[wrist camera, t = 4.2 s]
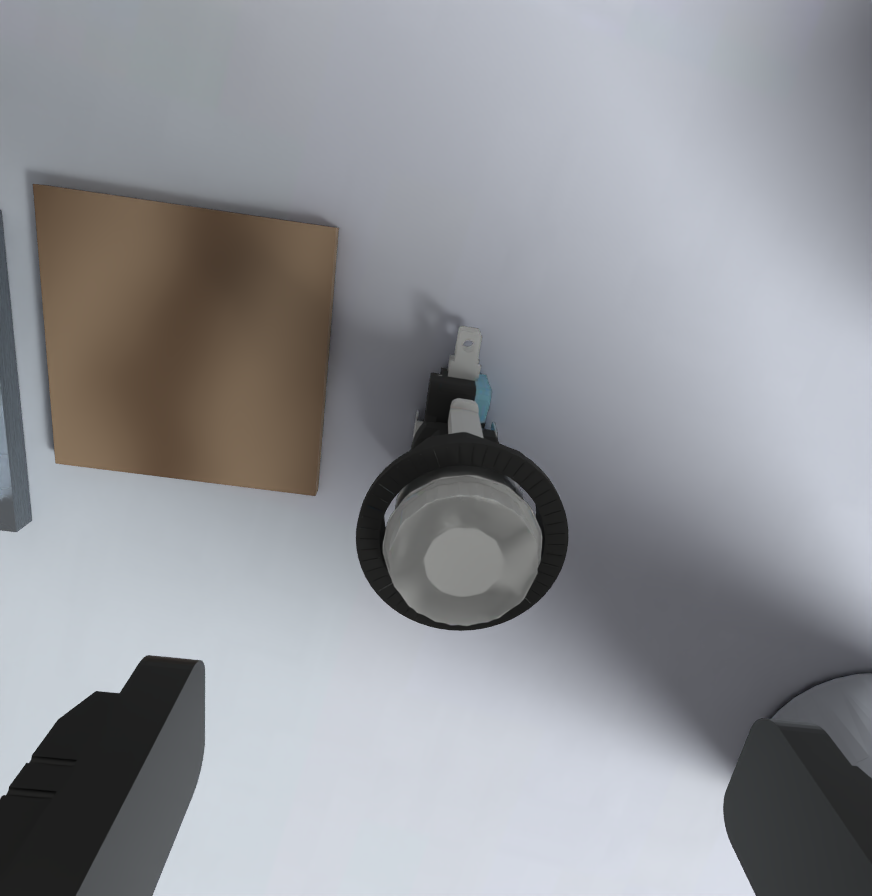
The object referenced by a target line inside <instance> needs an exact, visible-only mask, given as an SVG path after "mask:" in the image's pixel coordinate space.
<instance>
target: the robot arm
mask: <svg viewBox="0 0 872 896" xmlns="http://www.w3.org/2000/svg"><path fill="white" fill-rule="evenodd" d="M204 746H205V666H204V663H203V661H201V660H191V659H181V658H171V657H161V656H151V655H148V656H146V657H144V658H143V659H142V660H141V661H140V663H139V664H138V666H137V667H136V669H135V670H134V672H133V673H132V675H131V677H130V678H129V680H128V681H127V683H126V684H125V686H124V687H123V689H122V691H121V692H120V693H109V692H99V691H96V692H94V693H93V694H92V695H90V696H89V697H88V698H86V699H85V700H84V701H82V702H81V703H80V704H78V705H77V706H76V707H74V708H73V709H72V710H70V711H69V712H68V713H66V714H65V715H64V716H62V717H61V718H60V719H58V720H57V722H56V723H55V725H54V726H53V727H52V729H51V730H50V731H49V733H48V734H47V736H46V737H45V738H44V740H43V741H42V742H41V744H40V745H39V747H38V748H37V749H36V751H35V752H34V753H33V755H32V759H31V761H30V763H26V764H25V766H24V767H23V768H22V770H21V771H20V773H19V774H18V775H17V777H16V778H15V779H14V781H13V782H12V784H11V785H10V786H9V791H8V793H7V795H6V796H5V795H3V796H2V797H1V799H0V896H152V895H153V893H154V890H155V888H156V885H157V883H158V880H159V878H160V875H161V873H162V870H163V868H164V865H165V863H166V860H167V858H168V856H169V853H170V851H171V848H172V846H173V843H174V841H175V838H176V836H177V833H178V831H179V828H180V826H181V823H182V821H183V818H184V816H185V813H186V811H187V808H188V806H189V803H190V801H191V798H192V796H193V793H194V791H195V788H196V785H197V782H198V778H199V774H200V770H201V766H202V761H203V755H204ZM723 813H724V821H725V827H726V831H727V834H728V837H729V840H730V842H731V845H732V847H733V849H734V851H735V853H736V855H737V857H738V859H739V861H740V863H741V865H742V867H743V870H744V872H745V874H746V876H747V878H748V880H749V882H750V884H751V886H752V888H753V890H754V892H755V895H756V896H872V673H867V674H855V675H850V676H845V677H840V678H836V679H833V680H830V681H827V682H825V683H822V684H819V685H817V686H814V687H812V688H811V689H809V690H807V691H805V692H803V693H802V694H800V695H798V696H796V697H795V698H793V699H792V700H791V701H790V702H788V703H787V704H786V705H785V706H783V707H782V708H781V709H780V710H778V712H777V713H776V714H775V715H774V716H773V717H772V718H771V719H767V718H761V719H759V720H757V721H756V722H755V723H754V724H753V726H752V728H751V730H750V732H749V735H748V737H747V740H746V742H745V745H744V747H743V750H742V752H741V755H740V757H739V760H738V762H737V765H736V767H735V770H734V772H733V775H732V777H731V780H730V782H729V784H728V787H727V789H726V792H725V796H724V804H723Z"/></svg>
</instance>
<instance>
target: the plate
mask: <svg viewBox="0 0 872 896" xmlns="http://www.w3.org/2000/svg"><path fill="white" fill-rule="evenodd" d="M33 193H34V205H35V217H36V230H37V242H38V254H39V267H40V279H41V291H42V303H43V316H44V328H45V340H46V353H47V365H48V377H49V389H50V402H51V414H52V426H53V439H54V451H55V463H57V464H64V465H72V466H80V467H88V468H96V469H104V470H112V471H120V472H128V473H136V474H144V475H152V476H160V477H168V478H176V479H184V480H192V481H200V482H208V483H216V484H224V485H232V486H240V487H248V488H256V489H264V490H272V491H280V492H287V493H295V494H303V495H311V496H316V493H317V491H318V484H319V471H320V459H321V446H322V433H323V421H324V408H325V395H326V383H327V370H328V358H329V345H330V332H331V320H332V307H333V294H334V282H335V269H336V257H337V244H338V231H339V228H336V227H329V226H322V225H315V224H308V223H301V222H295V221H288V220H281V219H274V218H267V217H260V216H253V215H247V214H240V213H233V212H226V211H219V210H212V209H206V208H199V207H192V206H185V205H178V204H171V203H164V202H158V201H151V200H144V199H137V198H130V197H123V196H117V195H110V194H103V193H96V192H89V191H82V190H76V189H69V188H62V187H55V186H48V185H39V184H33Z"/></svg>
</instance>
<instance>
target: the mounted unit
mask: <svg viewBox="0 0 872 896" xmlns="http://www.w3.org/2000/svg"><path fill="white" fill-rule="evenodd" d="M31 521H32V515H31V505H30V495H29V485H28V475H27V464H26V454H25V444H24V434H23V424H22V414H21V404H20V394H19V384H18V374H17V363H16V353H15V343H14V333H13V323H12V313H11V303H10V293H9V283H8V272H7V262H6V252H5V242H4V232H3V222H2V212H1V210H0V530H2V531H11V532H18V531H19V530H20V529H22V528H23V527H24V526H26V525H27V524H28V523H29V522H31Z"/></svg>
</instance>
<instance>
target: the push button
mask: <svg viewBox="0 0 872 896" xmlns="http://www.w3.org/2000/svg"><path fill="white" fill-rule="evenodd" d="M468 340H469V341H472V342H473V343H472V345H471V346H469V347H466V346H464V345H463V344H464V342H466V341H468ZM481 340H482V335H481V334H480V330H479V329H478V328H472V327H465V326H461V327H459V329H458V335H457V341H456V346H455V352H454V355H450V357H449V363H448V369H446V368H441V373H440V374H437V373H431V376H430V382H429V388H428V395H427V403H426V411H425V418H424V422H422V421H418V415H419V410H417V413H416V419H415V426H414V432H413V440H412V446H411V451H409V452H407V453H405V454H403V455H402V456H400V457H399V458H397V459H396V460H395V461H393V462H392V463H391V464H390V465H389V466H388V467H386V468H385V469H384V470H383V471H382V473H381V474H380V475H379V476H378V477H377V478H376V480H375V481H374V482H373V484H372V485H371V487H370V489H369V491H368V492H367V494H366V496H365V499H364V501H363V503H362V507H361V510H360V514H359V518H358V523H357V529H356V546H357V553H358V558H359V561H360V565H361V568H362V570H363V572H364V574H365V577H366V578H367V580H368V582H369V583H370V585H371V587H372V588H373V589H374V590H375V592H376V593H377V594H378V595H379V596H380V597H381V599H382V600H383V601H384V602H386V603H387V604H388V605H389V606H390V607H391V608H393V609H394V610H396V611H397V612H399V613H400V614H402V615H403V616H405V617H407V618H409V619H411V620H413V621H416V622H418V623H421V624H424V625H427V626H430V627H434V628H439V629H446V630H459V631H462V630H476V629H483V628H487V627H492V626H495V625H498V624H501V623H504V622H506V621H508V620H511V619H513V618H515V617H516V616H518V615H520V614H522V613H523V612H525V611H526V610H528V609H529V608H531V607H532V606H533V605H534V604H535V603H537V602H538V601H539V600H540V599H541V598H542V597H543V596H544V595H545V594H546V592H547V591H548V590H549V589H550V588H551V586H552V585H553V583H554V582H555V580H556V579H557V577H558V575H559V573H560V571H561V569H562V566H563V563H564V560H565V557H566V552H567V546H568V524H567V518H566V514H565V510H564V507H563V505H562V502H561V500H560V497H559V495H558V493H557V491H556V489H555V487H554V486H553V484H552V483H551V481H550V480H549V478H548V477H547V476H546V475H545V473H544V472H543V471H542V470H541V469H540V468H539V467H538V466H537V465H536V464H535V463H533V462H532V461H531V460H530V459H528V458H527V457H525V456H524V455H523V454H522V453H521V452H519V451H517V450H514V449H511V448H509V447H507V446H504V445H502V444H499V442H498V439H497V429H496V425H495V422H492V424H491V429H490V430H487V429H484V426H485V421H486V416H487V411H489V406H490V401H491V393H492V390H491V387H490V386H489V383H488V379H487V376H486V375H483V374H480V369H481V365H479V359H478V356H479V351H480V345H481ZM517 483H518V484H519V485H520V486H521V487H522V488H523V489H524V490H525V491H526V492H527V493H528V494H529V495H530V496H531V498H532V499H533V501H534V502H535V504H536V517H535V515H534V513H533V511H532V509H531V507H530V506H529V505H528V503H527V502H525V501H524V500H523V497H522V493H521V490H520V487H519V485H518V484H517ZM399 492H400V493H399ZM398 493H399V495H398V497H397V499H396V506H395V511H394V512H393V513H392V515H391V516H390V518H389V520H388V522H387V526H386V527H385V520H384V514H385V512H386V510H387V508H388V506H389V505H390V503H391V501H392V500H393V499H394V497H395V496H396V495H397V494H398Z"/></svg>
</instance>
